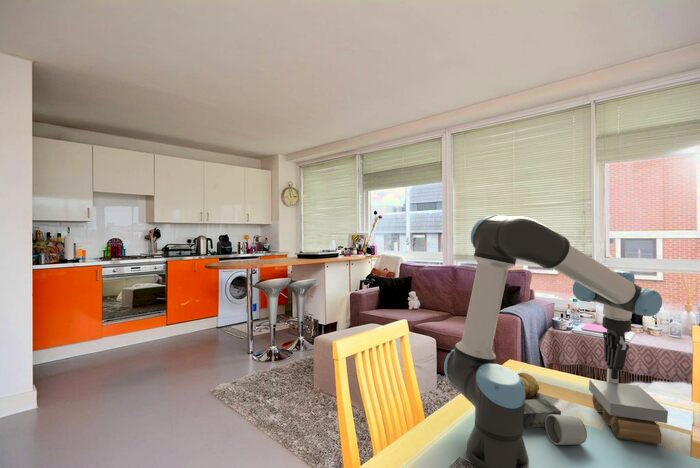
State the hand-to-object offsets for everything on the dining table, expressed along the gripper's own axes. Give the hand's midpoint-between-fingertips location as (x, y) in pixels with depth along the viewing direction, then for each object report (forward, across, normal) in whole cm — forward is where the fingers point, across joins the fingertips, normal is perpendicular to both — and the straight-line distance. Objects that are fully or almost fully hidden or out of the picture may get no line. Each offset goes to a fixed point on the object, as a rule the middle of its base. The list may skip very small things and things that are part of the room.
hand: (611, 386), depth 119 cm
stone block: (+8, -14, +27) cm, 32 cm away
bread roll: (+8, +2, +26) cm, 28 cm away
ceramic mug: (+8, -22, +21) cm, 32 cm away
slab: (+2, -9, 0) cm, 9 cm away
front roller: (+6, -8, 0) cm, 10 cm away
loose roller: (+8, -16, 0) cm, 18 cm away
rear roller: (+7, +1, 0) cm, 7 cm away
